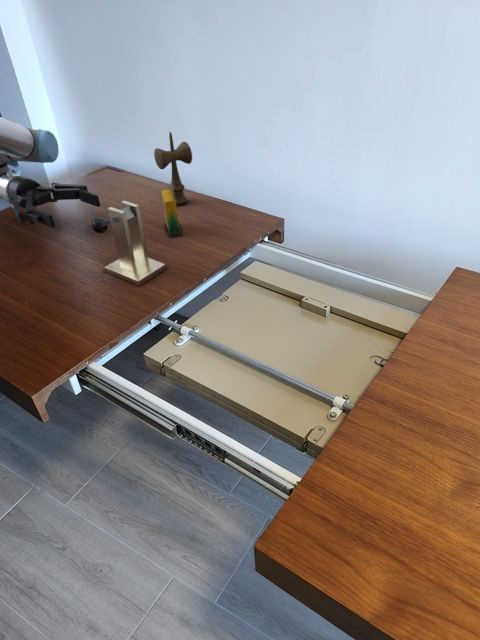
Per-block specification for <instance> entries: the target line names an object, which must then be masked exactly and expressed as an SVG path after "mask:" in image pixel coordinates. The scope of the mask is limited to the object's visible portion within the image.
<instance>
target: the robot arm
mask: <svg viewBox="0 0 480 640" xmlns="http://www.w3.org/2000/svg"><path fill="white" fill-rule="evenodd" d="M58 157H59V142H58V139H57V137H56V136H55V134H54V133H53V132H52V131H50V130H46V129H41V128H38V129H32V128H29V127H27V126H24V125H21V124H19V123H16V122H15V121H14V122H13V121H12V120H8V119H6V118H3V117H1V116H0V200H3V201H5V202H7V203H8V204H9V207H10V209H11V211H13V212H14V213H15V215H16V217H17V220H18V222H19V224H21V225H23V224H25V223H26V221H27V222H28V225H34V224H35V223H36V224H42V225H45V226H47V227H49V228H51V229H54V228H55V227H56V224H55V220H54V217H53V215H51V214H49V213H47V212H44V211H42V210H38V209H37V208H38V206H43V205H44V204H45V205H46V204H48V203H57V202H58V201H67V200H69V201H70V200H80V202H82V203H85V204H87V205H88V204H89V205H91V206H93V207H96V208H100V207H101V201H100V197H99V195H97V194H95V193H92V192H90V191H89V190H88V189H89V188H88V186H87V185H86V184H73V183H71V184H69V183H58V182H51V183H50V185H51V186H48V187H47V186H42V185H41V184H40V183H39V182H38V181H37V180H35V179H32V178H30V177H28V176H27V177H26V176H23V175H21V174H17V173H14V172H12V171H11V169H10V166H9V163H8V162H23V163H24V162H26V163H41V164H44V163H45V164H46V163H47V164H48V163H50V164H51V163H54V162H56V161H57V159H58ZM52 197H53V198H52ZM21 208H23V209H24V212H22V209H21Z"/></svg>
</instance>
